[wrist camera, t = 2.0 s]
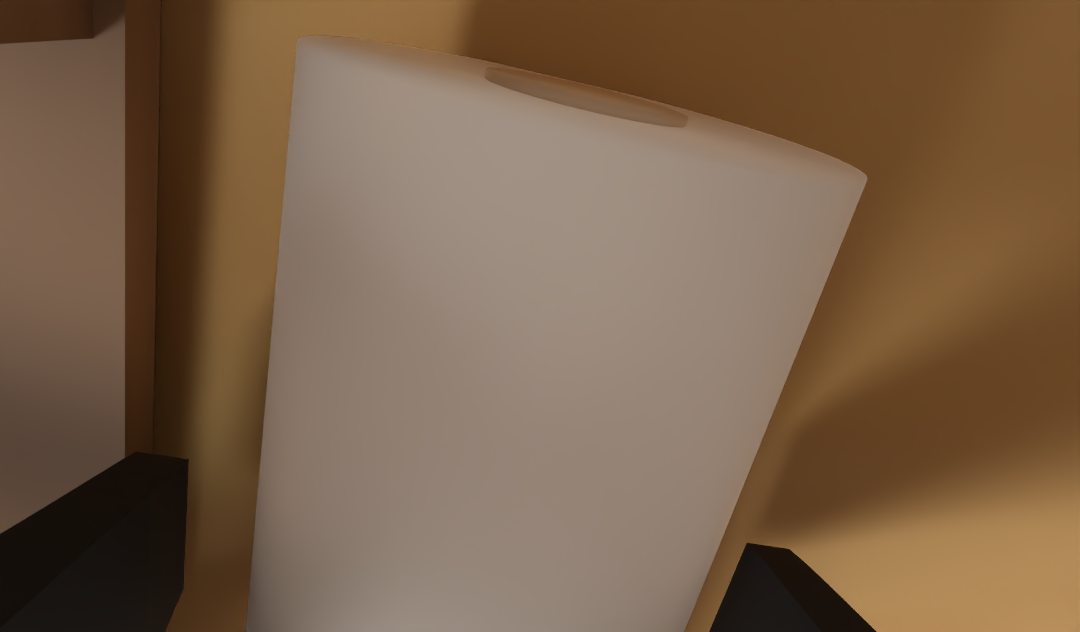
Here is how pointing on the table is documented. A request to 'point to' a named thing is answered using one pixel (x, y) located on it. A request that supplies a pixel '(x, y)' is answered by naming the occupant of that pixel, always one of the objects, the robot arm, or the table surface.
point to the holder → (76, 242)
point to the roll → (520, 344)
